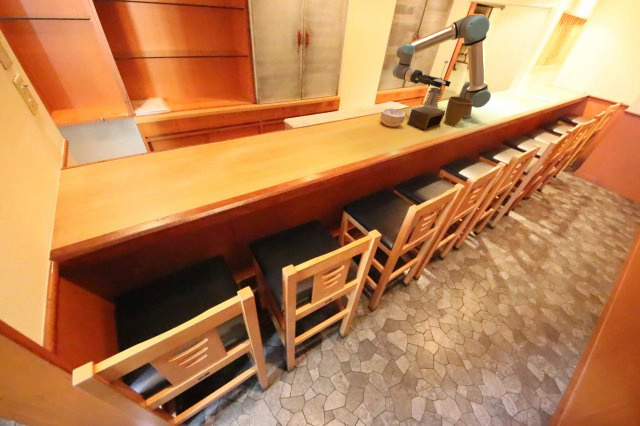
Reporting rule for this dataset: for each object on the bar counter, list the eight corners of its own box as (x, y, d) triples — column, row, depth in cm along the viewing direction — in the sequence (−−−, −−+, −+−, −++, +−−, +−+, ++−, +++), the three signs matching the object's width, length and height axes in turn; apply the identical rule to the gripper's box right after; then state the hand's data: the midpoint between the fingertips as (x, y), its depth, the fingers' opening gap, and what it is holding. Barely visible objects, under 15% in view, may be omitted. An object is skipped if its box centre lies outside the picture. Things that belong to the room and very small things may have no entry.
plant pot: (436, 122, 170) (446, 98, 160) (443, 118, 179) (453, 95, 169) (458, 129, 163) (469, 104, 153) (464, 124, 172) (475, 100, 162)
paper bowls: (376, 125, 156) (379, 112, 151) (381, 118, 167) (384, 106, 162) (400, 130, 152) (404, 117, 147) (403, 123, 163) (407, 111, 158)
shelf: (423, 119, 172) (428, 105, 166) (439, 126, 165) (445, 111, 158) (407, 124, 163) (412, 108, 156) (423, 131, 155) (429, 115, 149)
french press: (438, 105, 158) (456, 60, 142) (437, 110, 150) (455, 63, 134) (423, 101, 161) (438, 58, 144) (421, 106, 153) (436, 60, 136)
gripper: (421, 81, 165) (451, 90, 152) (402, 83, 154) (433, 93, 141) (425, 68, 160) (457, 76, 147) (406, 70, 149) (438, 78, 136)
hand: (445, 84), depth 144 cm, fingers closed on french press, 9 cm apart
